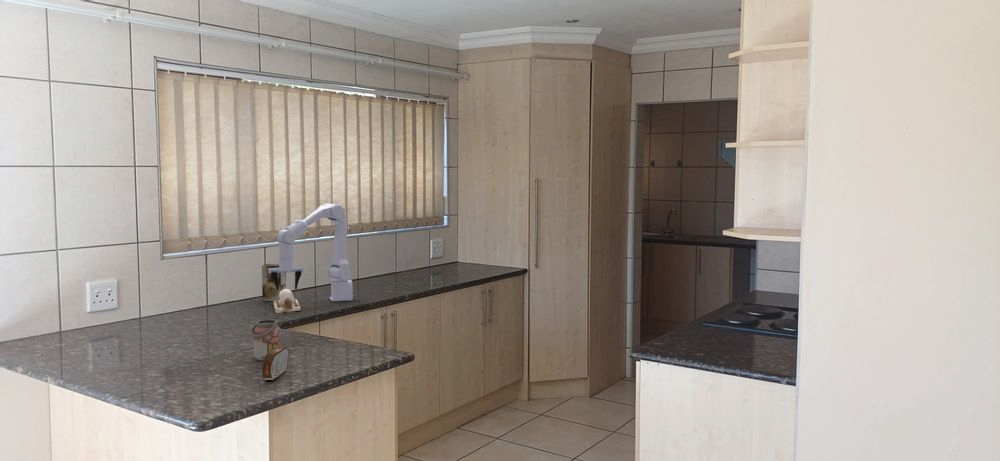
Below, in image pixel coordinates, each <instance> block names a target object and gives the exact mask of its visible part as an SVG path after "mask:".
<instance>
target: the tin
mask: <svg viewBox="0 0 1000 461" xmlns="http://www.w3.org/2000/svg"><path fill="white" fill-rule="evenodd" d="M289 354H290V351H289V348H288V346H287V347H286V346H281V345H280V346H277V347H276V348H274V349H272V350H271V351H269V352H268V353H267V354H266V356H265V358H264V361H262V367H261V376H262V379H263V378H272V377H273V376H274V375H276V374H277V373H279V372H280V371H281V370H283V369H284V368H285V367H287V368H288V365H289Z"/></svg>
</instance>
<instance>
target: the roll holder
mask: <svg viewBox="0 0 1000 461" xmlns="http://www.w3.org/2000/svg"><path fill="white" fill-rule="evenodd" d="M294 299H295V301H294V304H293V305H292V300H290V301H284V306H283V305H282V303H281V301H280V300H273V301H272V302H273V303H272V304H273V308H274V311H275V313H276V314H283V312H286V313H292V312H291V311H302V308H301V306H300V304H299V301H298V299H296V298H294Z"/></svg>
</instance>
